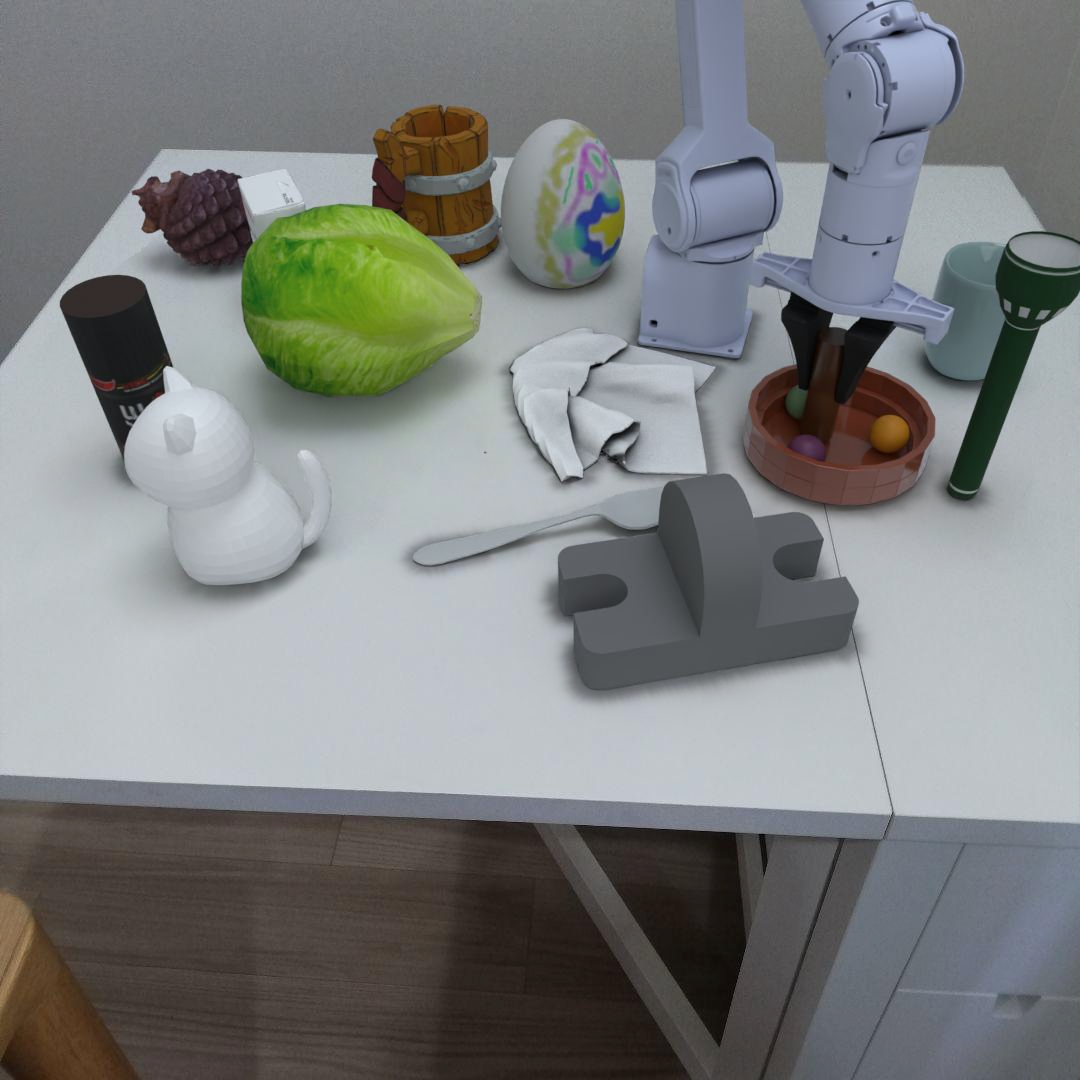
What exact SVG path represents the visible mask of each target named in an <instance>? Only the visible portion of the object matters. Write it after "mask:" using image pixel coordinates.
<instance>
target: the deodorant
mask: <svg viewBox="0 0 1080 1080" xmlns="http://www.w3.org/2000/svg"><path fill="white" fill-rule="evenodd" d="M59 308H60V310H61V313H62V315H63V318H64V320H65V322H66V325H67V327H68V330H69V332H70V335H71V337H72V339H73V342H74V345H75V346H76V349H77V351H78V354H79V357H80V359H81V361H82V363H83V365H84V368H85V371H86V374H87V375H88V378H89V380H90V383H91V385H92V388H93V390H94V392H95V394H96V397H97V399H98V402H99V405H100V406H101V409H102V411H103V414H104V416H105V419H106V421H107V423H108V425H109V428H110V431H111V433H112V435H113V438H114V440H115V442H116V445H117V447H118V449H119V452H120V454H121V457H122V459H123V460H124V451H125V444H126V440H127V437H128V435H129V432H130V430H131V428H132V427H133V425H134V423H135V422H136V420H137V418H138V417H139V416H140V414H141V413H142V412H143V411H144V409H145V408H146V407H147V406H148V405H149V404H150V403H151V402H152V401H154V400H155V399H156V398H158V397H160V396H161V395H163V394H165V387H164V375H163V370H164V368H165V367H166V366H169V367H173V368H174V369H175V367H174V365H173V361H172V359H171V356H170V352H169V350H168V347H167V343H166V341H165V338H164V336H163V332H162V330H161V326H160V324H159V320H158V318H157V315H156V312H155V309H154V306H153V303H152V300H151V297H150V294H149V292H148V289H147V285H146V284H145V283H144V282H143V280H141V279H140V278H138V277H136V276H131V275H126V274H107V275H102V276H97V277H92V278H90V279H86V280H84V281H82V282H79V283H77V284H75V285H74V286H72V287H70V288H69V289H67V290H66V292H64V293H63V294H62V296H61V298H60V300H59Z"/></svg>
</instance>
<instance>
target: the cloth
mask: <svg viewBox="0 0 1080 1080" xmlns="http://www.w3.org/2000/svg"><path fill="white" fill-rule="evenodd" d="M716 368H717V367H716V366H713V365H709V364H706V363H703V362H699V361H696V360H692V359H687V358H684V357H681V356H677V355H673V354H669V353H665V352H662V351H657V350H652V349H648V348H645V347H640V346H637V345H632V344H630V343H629V342H627V341H626V340H624V339H623V338H620V337H619V336H616V335H613V334H608V333H594V331H593V329H592V328H589V327H578V328H575V329H571V330H569V331H567V332H565V333H563V334H558V335H555V336H554V337H552V338H550V339H548V340H546V341H544V342H541V343H539V344H537V345H535V346H533V347H532V348H531V349H529V350H527V351H526V352H525V353H523V354H522V355H519V356H518V357H516V358H514V359H513V361H512V363H511V365H510V366H509V367H508V371H510V372H512V373H513V376H512V377H513V378H512V393H513V399H514V406H515V408H516V411H517V412H518V416H519V418H520V421H521V423H522V424H523V426H525V428H526V430H527V434H528V435H529V437H530V439H531V441H532V442H533V443H534V444H535V445H536V446H537V447H538V449H539V451H540V453H541V455H542V457H543V458H544V459H545V460H546V461H547V462H548V463H549V465H551V466H552V467H553V468H554V470H555V472H556V475H558V477H559V479H560V482H564V481H566V480H569V479H571V478H572V477H577V478H579V479H580V478H581V479H583V478H584V470H587V469H588V468H590V467H591V466H592V465H594V463H596V462H597V461H598V460H599V458H600V454H601V451H603V452H604V453H605V454H606V455H608V456H609V458H611V459H614V460H617V461H618V464H619V465H620V466H621V467H623V468H624V469H626V470H627V471H629V472H633V473H637V474H655V475H704V476H708V470H707V462H706V461H707V460H706V456H705V450H704V444H703V437H702V432H701V431H702V430H701V426H700V417H699V413H698V409H697V401H696V395H695V394H696V393H697V391H699V390H700V389H701V388H702V387H703V385H704V384H705V383H706V382H707V381H708V379H709V378H710V377H711V375H712V374H713V373H714V371H716Z"/></svg>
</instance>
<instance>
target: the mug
mask: <svg viewBox="0 0 1080 1080" xmlns="http://www.w3.org/2000/svg"><path fill="white" fill-rule="evenodd" d="M443 107H444V106H443V105H442V104H430V105H424V106H419V107H416V108H413V109H410V110H408V111H407V112H405V113H404V114H403V115H401V116H399V117H397V118H396V119H395V121H393V122H392V123H391V125H390V131H389V130H387V129H384V128H378V129H376V131H375V133H374V135H373V136H372V140H373V141H372V142H373V144H374V147H375V151H376V155H377V157H375V159H374V162H373V165H372V170H371V180H372V181H373V182H374V183H375V185H372V189H371V190H372V192H371V206H373V207H378V208H383V209H389V210H392V211H393V212H394V213H396V214H397V215H398V216H400V217H401V218H402V219H403V220H405V221H406V222H407V223H409V224H410V225H411V226H413V227H414V228H416V229H417V230H418V231H420V232H421V233H422V234H424V235H425V236H426V237H428V238H429V239H430V240H432V241H433V242H434V243H435V244H437V245H438V246H439V247H440V248H441V249H442V250H443V251H445V252H446V253H447V254H448V255H449V256H450V258H451V259H452V260H453V261H454V263H455V264H456V265H457V266H459V265H460V264H470V263H472V262H475V261H479V260H481V259H483V258H485V257H486V256H488V255H489V252H494V251H495V249H496V248H497V245H498V243H499V235H498V234H499V232H500V229H502V226H501V216H500V215H499V211H498V209H497V207H496V205H495V204H494V202H493V194H492V184H491V178H492V177H493V174H494V172H495V171H496V170H497V167H498V164H497V161H496V160H495V159H494V157H493V153H492V150H491V149H490V148H489V121H488V120H487V118H486V117H485V116H484V115H483V114H481V113H480V112H478V111H475V110H472V109H471V108H467V107H462V106H454V105H453V106H452V105H447V106H446V108H445V110H444V108H443Z"/></svg>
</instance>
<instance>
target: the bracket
mask: <svg viewBox="0 0 1080 1080" xmlns="http://www.w3.org/2000/svg"><path fill="white" fill-rule="evenodd" d="M662 488H663V491H662V494H661V500H660V508H659V521H658V525H657V532H653V533H646V534H639V535H633V536H625V537H620V538H613V539H607V540H601V541H594V542H587V543H580V544H575V545H568V546H566V547H564V548H563V549H561V550H560V551H559V553H558V556H557V581H558V582H557V583H558V599H559V602H560V606H561V610H562V614H563V617H567V616H573V617H572V618H573V624H572V625H573V653H574V656H575V660H576V663H577V667H578V670H579V671H578V672H579V674H580V677H581V678H580V679H581V681H582V683H584V685H586V686H587V687H588V688H590V689H593V690H596V691H604V690H610V689H614V688H615V689H617V688H621V687H627V686H632V685H639V684H644V683H651V682H656V681H662V680H667V679H668V680H669V679H675V678H679V677H685V676H691V675H697V674H703V673H709V672H715V671H720V670H727V669H732V668H739V667H743V666H750V665H756V664H762V663H768V662H774V661H779V660H785V659H791V658H796V657H802V656H808V655H815V654H821V653H825V652H831V651H838V650H840V649H841V650H842V649H843V648H844V647H845V646H847V644H848V642H849V638H850V635H851V631H852V628H853V625H854V621H855V619H856V615H857V612H858V608H859V604H860V599H859V596H858V595H857V593H856V591H855V589H854V588H853V585H851V582H850V581H849V579H848V578H847V576H845V575H844V576H840V577H834V578H833V577H832V578H828V579H820V580H815V581H806V582H805V581H804V582H803V581H795V580H796V579H797V580H798V579H802V578H810V577H815V576H816V573H817V569H818V565H819V561H820V556H821V554H822V549H823V544H824V541H825V538H824V536H823V535H822V532H821V531H820V529H819V528H818V526H817V525H816V523H815V521H814V519H813V518H812V517H811V516H810V515H808V514H805V513H803V512H799V511H790V512H789V511H788V512H783V513H776V514H771V515H764V516H756V517H754V514H753V511H752V507H751V505H750V502H749V500H748V498H747V495H746V493H745V490H744V489H743V488H742V486H741V484H740V483H739V482H738V480H737V478H736V477H734V476H732V475H731V474H730V473H724V472H723V473H717V474H710V475H703V476H697V477H689V478H682V479H675V480H669V481H668V482H666V484H664V485H663V487H662Z"/></svg>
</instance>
